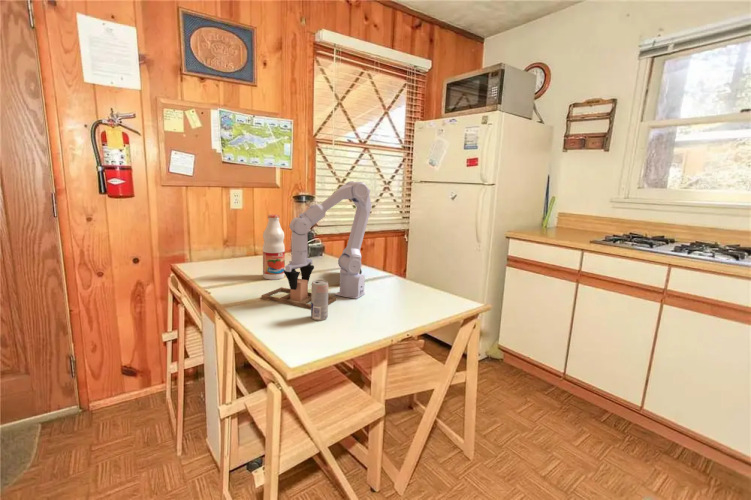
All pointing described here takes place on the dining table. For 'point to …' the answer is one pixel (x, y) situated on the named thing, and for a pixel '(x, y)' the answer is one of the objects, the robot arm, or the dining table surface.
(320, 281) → the energy drink
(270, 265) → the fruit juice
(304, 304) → the wooden divided frame
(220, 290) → the dining table surface
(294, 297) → the terracotta block
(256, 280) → the dining table surface
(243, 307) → the dining table surface
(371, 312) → the dining table surface
